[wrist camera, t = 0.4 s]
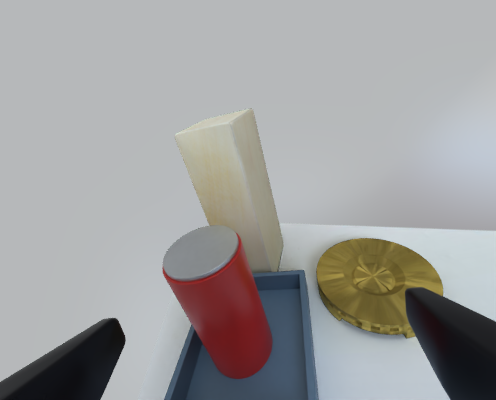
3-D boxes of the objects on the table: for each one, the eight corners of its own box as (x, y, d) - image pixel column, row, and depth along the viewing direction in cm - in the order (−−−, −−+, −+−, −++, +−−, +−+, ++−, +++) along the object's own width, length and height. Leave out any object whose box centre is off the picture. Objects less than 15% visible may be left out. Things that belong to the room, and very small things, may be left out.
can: (271, 380, 20) (230, 277, 14) (204, 377, 22) (143, 283, 16) (273, 314, 26) (245, 219, 20) (220, 315, 27) (180, 227, 21)
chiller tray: (326, 473, 15) (321, 457, 14) (167, 451, 18) (150, 436, 17) (307, 287, 28) (303, 269, 27) (216, 292, 31) (208, 276, 30)
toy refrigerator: (241, 243, 39) (201, 118, 30) (284, 243, 37) (254, 106, 27) (225, 280, 33) (166, 136, 23) (275, 283, 30) (231, 122, 21)
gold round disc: (327, 246, 34) (326, 234, 33) (429, 257, 28) (432, 243, 27) (308, 319, 25) (305, 306, 24) (452, 358, 19) (457, 343, 18)
